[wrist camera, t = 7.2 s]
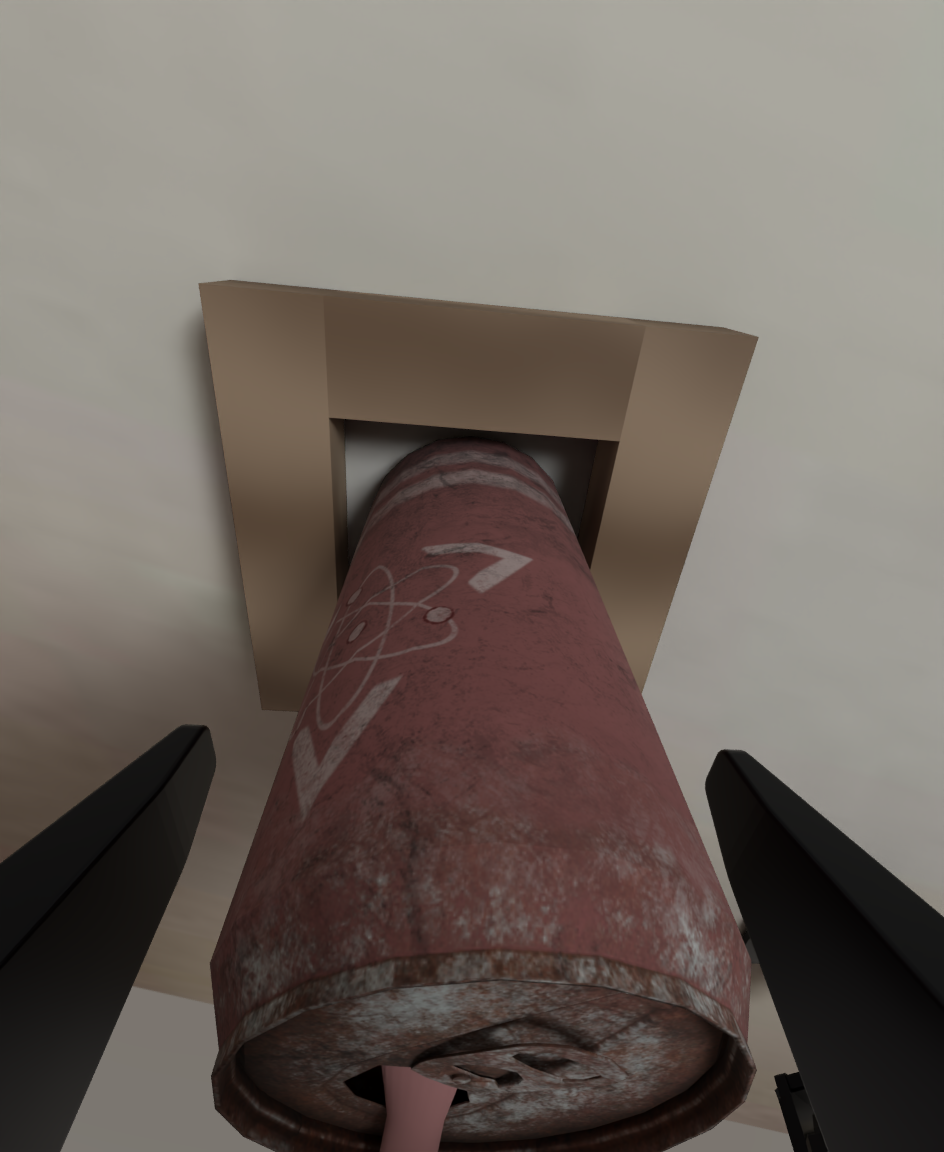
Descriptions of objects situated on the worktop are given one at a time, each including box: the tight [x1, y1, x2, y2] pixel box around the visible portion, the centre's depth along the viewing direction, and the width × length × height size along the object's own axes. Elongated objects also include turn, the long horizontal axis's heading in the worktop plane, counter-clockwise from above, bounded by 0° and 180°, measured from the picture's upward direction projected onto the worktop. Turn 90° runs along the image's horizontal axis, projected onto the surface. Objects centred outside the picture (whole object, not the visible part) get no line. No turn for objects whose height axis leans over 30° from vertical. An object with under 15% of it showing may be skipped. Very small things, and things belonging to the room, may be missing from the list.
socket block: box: [199, 280, 758, 712], centre depth 17 cm, size 13×13×2 cm
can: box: [210, 436, 757, 1152], centre depth 12 cm, size 6×6×14 cm
